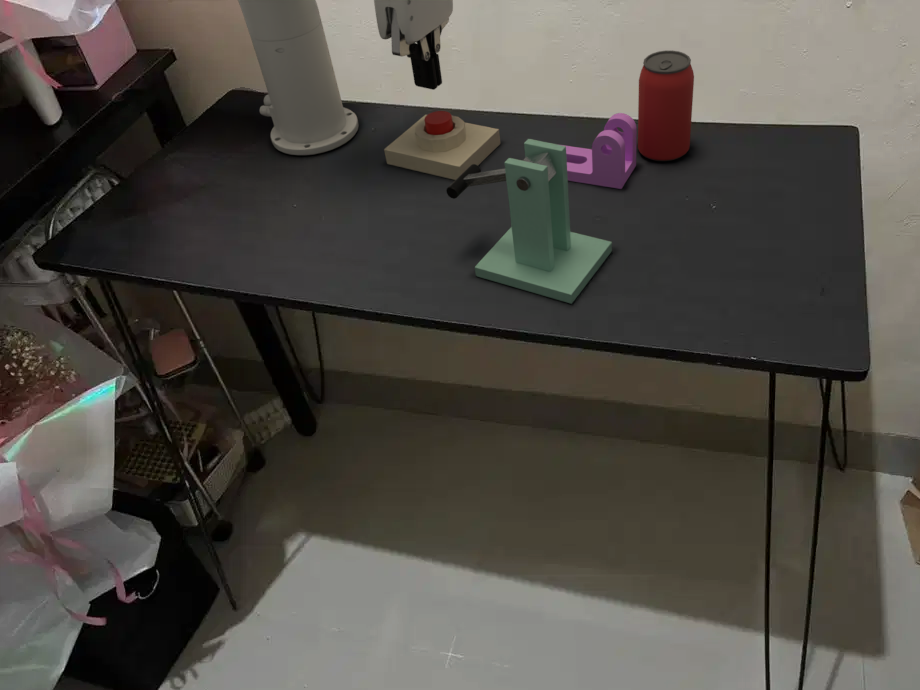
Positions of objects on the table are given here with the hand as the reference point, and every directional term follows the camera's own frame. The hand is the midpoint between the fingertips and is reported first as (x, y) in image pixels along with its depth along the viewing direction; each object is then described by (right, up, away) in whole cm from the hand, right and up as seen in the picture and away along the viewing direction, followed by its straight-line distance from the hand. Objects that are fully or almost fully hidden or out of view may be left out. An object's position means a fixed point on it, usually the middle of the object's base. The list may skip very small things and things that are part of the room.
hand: (428, 84), depth 106 cm
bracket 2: (+19, -11, +1) cm, 22 cm away
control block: (+1, -7, +7) cm, 10 cm away
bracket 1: (+14, -24, -13) cm, 31 cm away
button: (+1, -5, +4) cm, 6 cm away
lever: (+10, -17, -17) cm, 26 cm away
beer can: (+30, -8, +2) cm, 31 cm away
